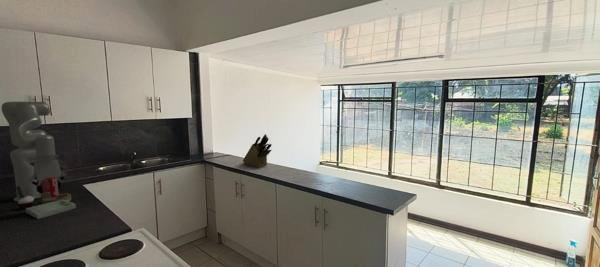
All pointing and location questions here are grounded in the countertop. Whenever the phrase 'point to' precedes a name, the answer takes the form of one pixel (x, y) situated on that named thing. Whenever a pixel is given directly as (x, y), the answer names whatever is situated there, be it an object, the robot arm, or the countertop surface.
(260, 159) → the knife block
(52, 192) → the soda can
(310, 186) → the countertop surface
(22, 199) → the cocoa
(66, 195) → the can holder
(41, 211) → the tray
